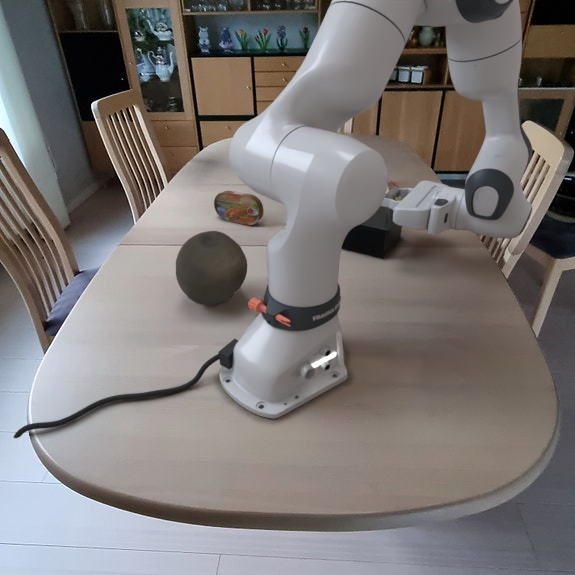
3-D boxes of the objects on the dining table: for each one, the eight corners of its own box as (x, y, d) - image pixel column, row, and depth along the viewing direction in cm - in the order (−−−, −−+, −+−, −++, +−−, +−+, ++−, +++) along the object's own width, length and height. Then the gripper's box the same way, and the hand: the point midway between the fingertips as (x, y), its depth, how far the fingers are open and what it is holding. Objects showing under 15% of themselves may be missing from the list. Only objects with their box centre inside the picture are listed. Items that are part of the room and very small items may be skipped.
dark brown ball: (184, 326, 87) (171, 259, 79) (179, 288, 98) (167, 225, 90) (255, 313, 90) (250, 247, 82) (242, 277, 101) (236, 216, 93)
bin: (400, 237, 116) (403, 213, 112) (382, 259, 107) (385, 233, 103) (345, 225, 123) (346, 202, 119) (324, 244, 114) (324, 219, 110)
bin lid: (406, 213, 111) (411, 182, 107) (388, 233, 103) (392, 200, 98) (346, 201, 119) (348, 172, 114) (324, 219, 110) (325, 188, 105)
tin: (215, 218, 128) (211, 190, 124) (221, 214, 131) (218, 186, 126) (260, 228, 122) (258, 199, 118) (265, 223, 125) (264, 195, 120)
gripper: (461, 179, 104) (404, 170, 111) (437, 210, 90) (372, 198, 96) (456, 204, 108) (401, 194, 114) (432, 238, 93) (370, 225, 100)
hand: (387, 196), depth 105 cm, fingers closed on bin lid, 5 cm apart
